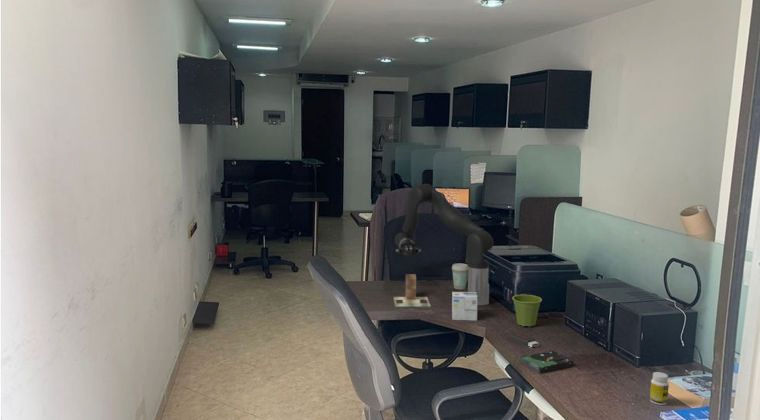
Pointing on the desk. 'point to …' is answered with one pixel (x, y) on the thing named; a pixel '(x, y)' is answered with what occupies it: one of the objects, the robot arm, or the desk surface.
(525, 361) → the disk drive
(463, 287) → the coffee cup
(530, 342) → the usb drive
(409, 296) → the walnut block
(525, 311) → the plant pot
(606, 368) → the desk surface
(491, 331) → the desk surface
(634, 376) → the desk surface
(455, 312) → the light bulb box
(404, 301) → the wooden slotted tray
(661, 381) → the supplement bottle
